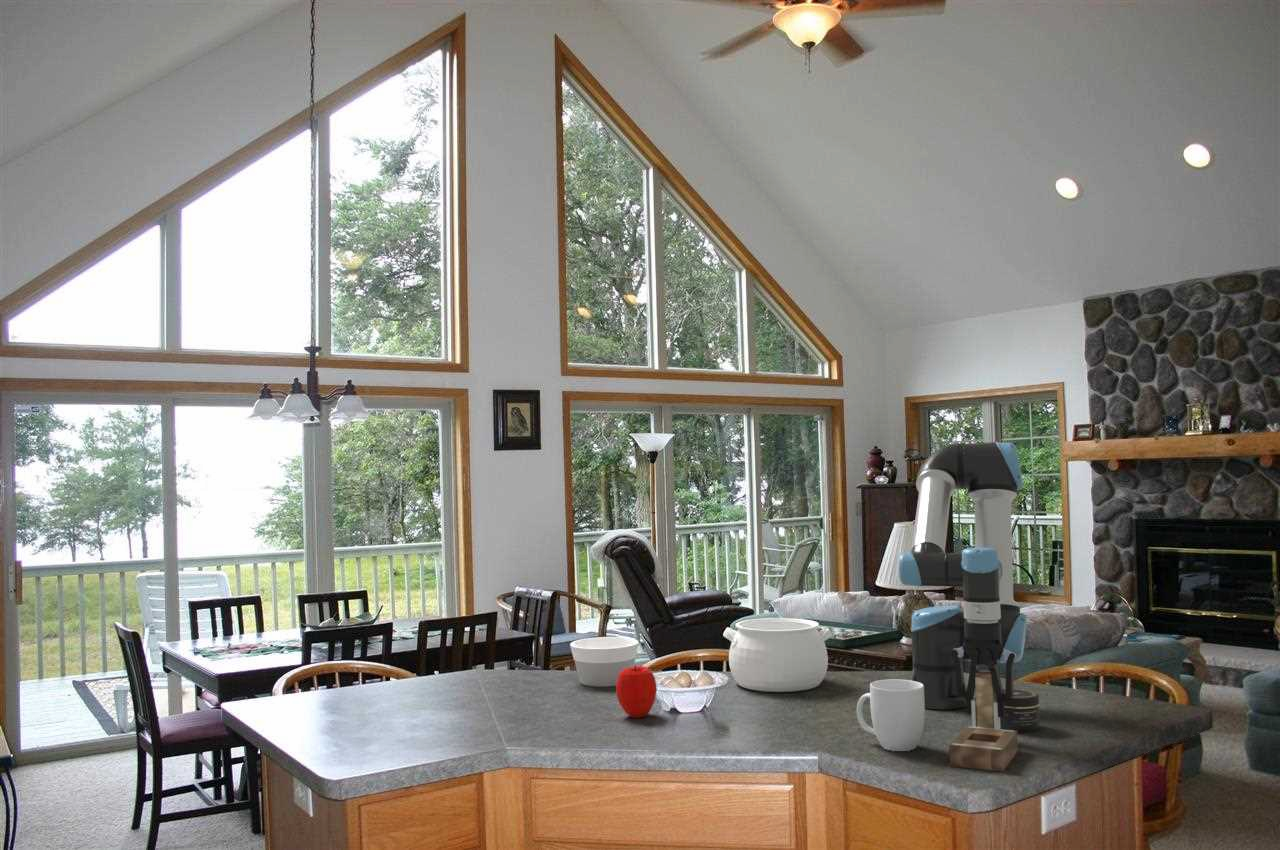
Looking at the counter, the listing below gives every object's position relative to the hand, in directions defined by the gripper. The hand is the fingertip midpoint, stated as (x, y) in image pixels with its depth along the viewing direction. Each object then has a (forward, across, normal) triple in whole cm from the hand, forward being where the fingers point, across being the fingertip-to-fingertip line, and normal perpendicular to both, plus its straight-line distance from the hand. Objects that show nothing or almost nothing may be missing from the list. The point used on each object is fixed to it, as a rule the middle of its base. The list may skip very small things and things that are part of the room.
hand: (986, 730), depth 227 cm
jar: (+2, +4, +12) cm, 13 cm away
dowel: (+2, 0, 0) cm, 2 cm away
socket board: (+2, +2, -15) cm, 15 cm away
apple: (+2, -79, -11) cm, 80 cm away
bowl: (+2, -107, +21) cm, 109 cm away
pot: (+2, -61, +35) cm, 70 cm away
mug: (+2, -16, -14) cm, 21 cm away
